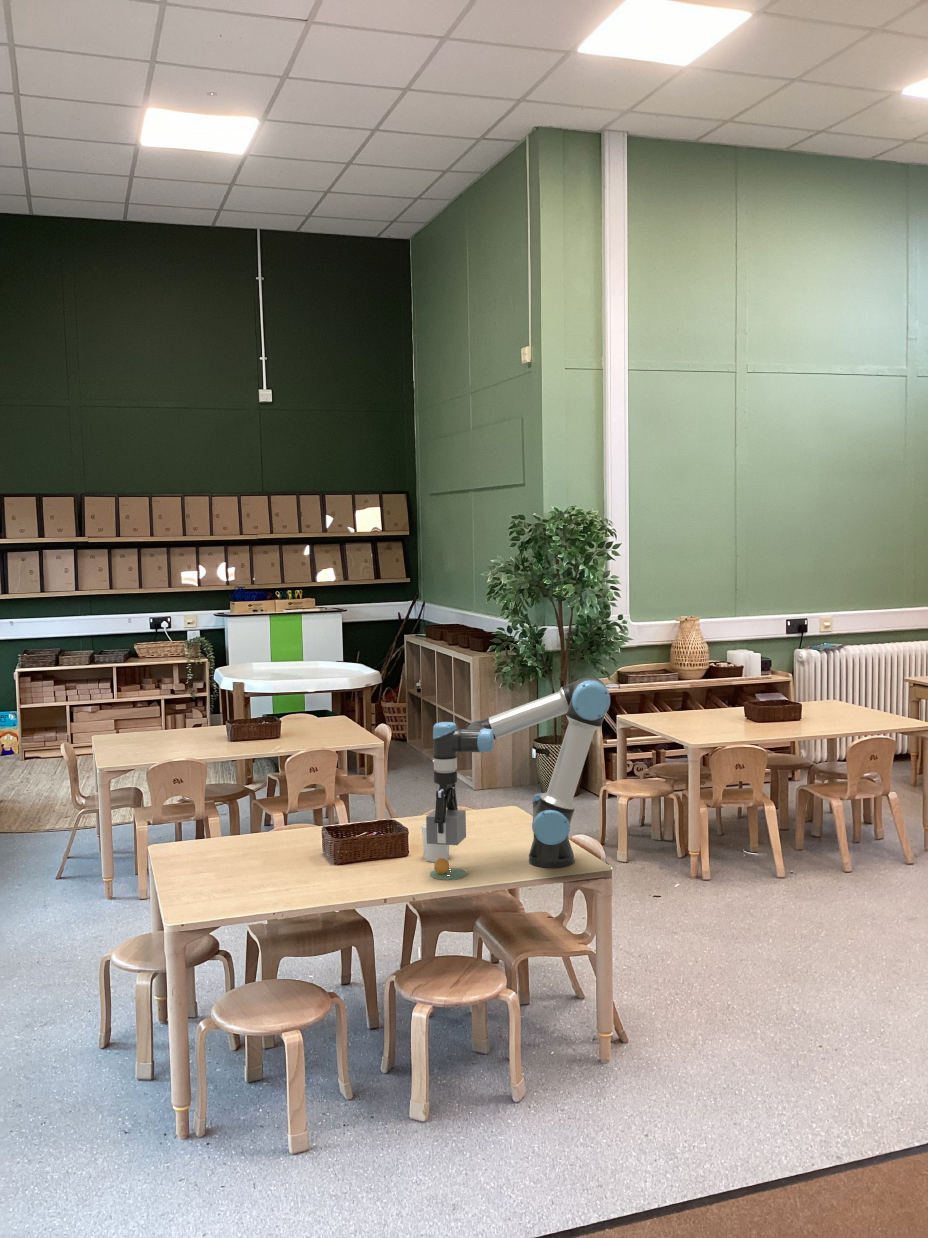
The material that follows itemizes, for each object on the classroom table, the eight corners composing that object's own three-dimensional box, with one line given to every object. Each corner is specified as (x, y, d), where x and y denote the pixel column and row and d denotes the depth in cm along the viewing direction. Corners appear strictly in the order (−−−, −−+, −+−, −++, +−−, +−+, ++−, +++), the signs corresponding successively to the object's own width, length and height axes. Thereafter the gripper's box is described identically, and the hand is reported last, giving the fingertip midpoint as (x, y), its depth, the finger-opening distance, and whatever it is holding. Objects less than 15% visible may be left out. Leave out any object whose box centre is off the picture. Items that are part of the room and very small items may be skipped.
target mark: (471, 869, 354) (471, 869, 354) (461, 881, 343) (461, 880, 343) (436, 867, 357) (436, 867, 357) (425, 878, 346) (425, 878, 346)
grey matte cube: (466, 837, 353) (465, 810, 352) (457, 845, 343) (456, 818, 342) (436, 835, 356) (435, 809, 355) (426, 843, 346) (426, 816, 345)
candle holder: (447, 863, 362) (446, 828, 361) (419, 862, 364) (418, 827, 363) (453, 855, 372) (452, 820, 371) (426, 854, 374) (425, 820, 373)
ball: (442, 853, 353) (433, 864, 354) (438, 857, 348) (429, 869, 349) (454, 863, 352) (445, 874, 353) (449, 868, 347) (440, 879, 348)
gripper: (444, 763, 360) (446, 828, 361) (423, 777, 338) (424, 847, 339) (466, 764, 358) (467, 829, 359) (446, 778, 336) (447, 848, 337)
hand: (446, 838), depth 349 cm, fingers closed on grey matte cube, 10 cm apart
